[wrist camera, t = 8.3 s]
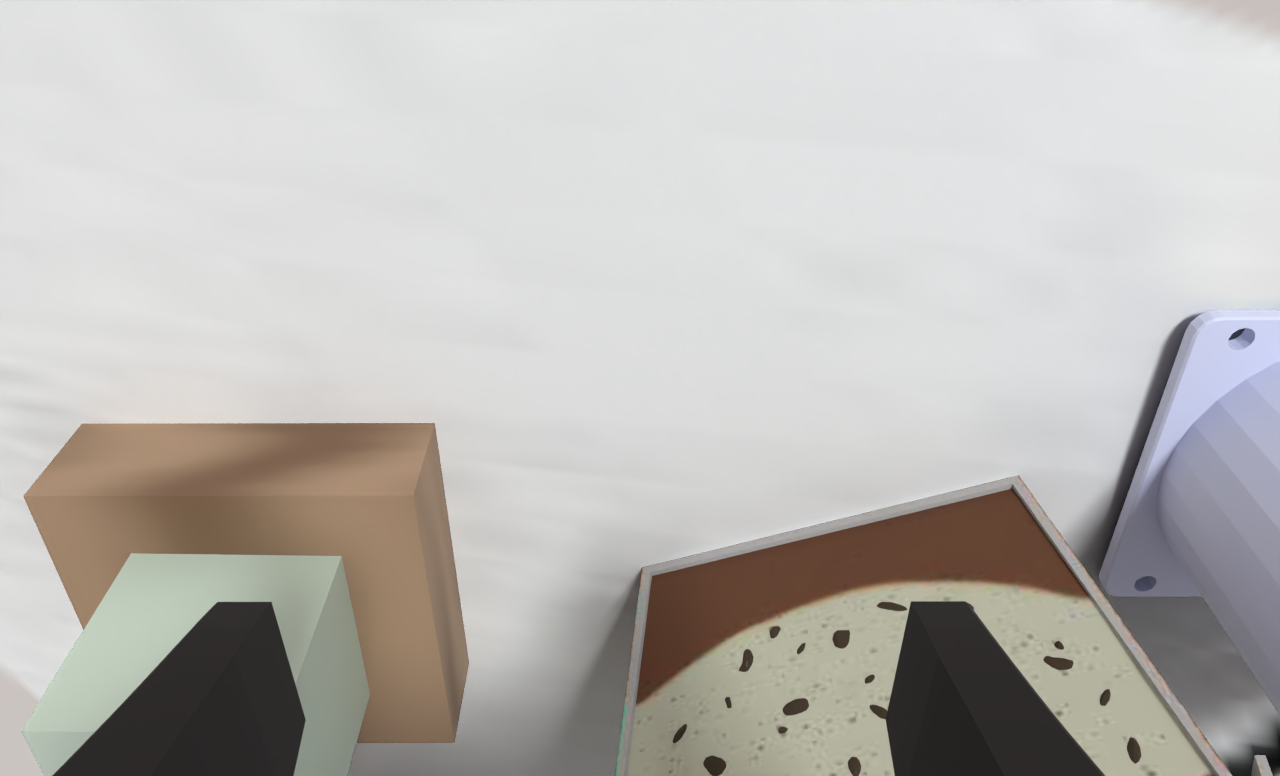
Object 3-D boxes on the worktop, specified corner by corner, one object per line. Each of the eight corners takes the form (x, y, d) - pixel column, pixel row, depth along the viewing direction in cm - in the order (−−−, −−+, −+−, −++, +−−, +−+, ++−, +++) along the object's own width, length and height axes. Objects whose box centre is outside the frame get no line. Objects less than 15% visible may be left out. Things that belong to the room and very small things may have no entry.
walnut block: (438, 411, 23) (413, 495, 20) (471, 649, 27) (454, 742, 25) (91, 412, 23) (23, 496, 20) (181, 650, 27) (134, 743, 25)
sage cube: (341, 555, 21) (276, 734, 17) (370, 693, 24) (319, 875, 20) (131, 553, 21) (21, 731, 17) (181, 691, 24) (95, 873, 20)
